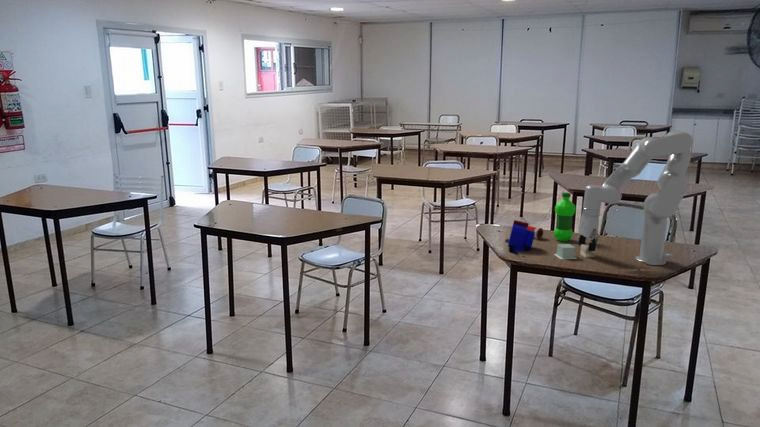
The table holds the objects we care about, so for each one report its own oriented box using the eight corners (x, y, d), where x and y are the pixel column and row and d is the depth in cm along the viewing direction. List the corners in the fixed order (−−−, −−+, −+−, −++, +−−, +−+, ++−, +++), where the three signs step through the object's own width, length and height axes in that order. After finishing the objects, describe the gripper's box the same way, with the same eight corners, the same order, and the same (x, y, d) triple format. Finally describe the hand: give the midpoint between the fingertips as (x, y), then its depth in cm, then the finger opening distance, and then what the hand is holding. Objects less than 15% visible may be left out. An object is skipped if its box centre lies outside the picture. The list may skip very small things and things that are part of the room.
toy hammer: (515, 245, 286) (516, 233, 285) (497, 240, 295) (498, 228, 294) (543, 238, 300) (544, 227, 299) (525, 234, 309) (526, 222, 308)
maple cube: (590, 254, 267) (591, 244, 266) (595, 257, 262) (596, 247, 261) (580, 254, 266) (581, 244, 265) (585, 257, 261) (586, 247, 260)
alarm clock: (508, 246, 284) (509, 217, 281) (533, 248, 281) (535, 218, 278) (507, 252, 272) (508, 222, 269) (533, 254, 269) (535, 224, 266)
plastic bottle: (575, 243, 290) (579, 195, 285) (554, 242, 291) (558, 194, 286) (570, 238, 300) (574, 191, 295) (550, 237, 301) (553, 191, 296)
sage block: (568, 254, 266) (569, 244, 265) (574, 258, 260) (575, 247, 259) (556, 254, 265) (557, 244, 264) (562, 258, 260) (562, 247, 258)
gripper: (574, 208, 268) (570, 242, 271) (592, 216, 251) (587, 253, 255) (589, 208, 269) (585, 243, 272) (608, 216, 252) (603, 253, 256)
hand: (586, 248), depth 264 cm, fingers open, 9 cm apart
